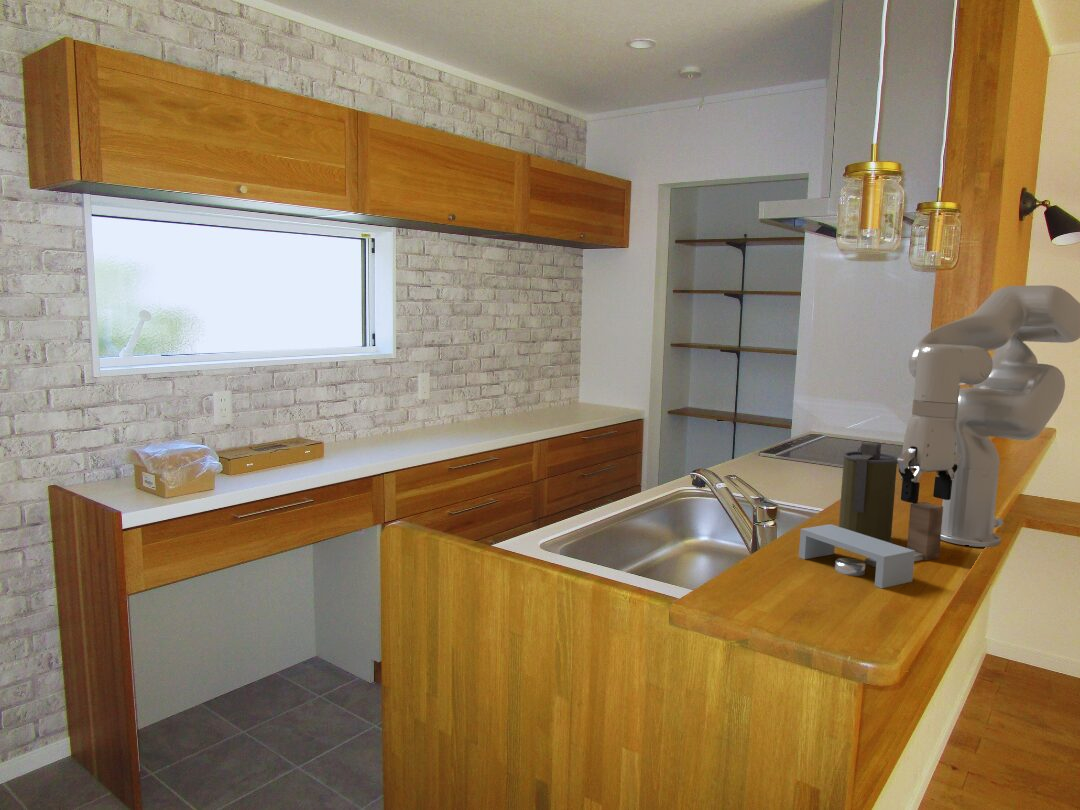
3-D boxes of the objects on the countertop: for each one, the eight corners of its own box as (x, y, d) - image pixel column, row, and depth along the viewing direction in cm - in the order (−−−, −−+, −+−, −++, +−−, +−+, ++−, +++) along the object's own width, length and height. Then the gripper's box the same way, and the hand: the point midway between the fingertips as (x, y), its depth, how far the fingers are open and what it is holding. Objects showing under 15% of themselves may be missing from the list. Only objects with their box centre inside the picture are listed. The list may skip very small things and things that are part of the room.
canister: (846, 528, 163) (853, 437, 160) (897, 538, 156) (905, 443, 154) (829, 539, 154) (836, 443, 152) (883, 550, 148) (891, 450, 145)
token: (847, 566, 138) (848, 556, 138) (870, 574, 134) (871, 564, 134) (828, 569, 136) (829, 560, 136) (851, 578, 132) (852, 568, 131)
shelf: (828, 551, 146) (830, 524, 145) (912, 581, 130) (914, 550, 129) (798, 557, 142) (800, 528, 141) (881, 588, 126) (884, 556, 126)
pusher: (919, 551, 147) (923, 501, 146) (938, 557, 144) (943, 506, 143) (862, 563, 140) (866, 510, 138) (881, 569, 136) (885, 515, 135)
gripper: (944, 408, 149) (935, 493, 150) (886, 409, 140) (878, 499, 142) (981, 412, 142) (972, 501, 144) (923, 414, 134) (914, 508, 135)
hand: (925, 500), depth 143 cm, fingers open, 9 cm apart
